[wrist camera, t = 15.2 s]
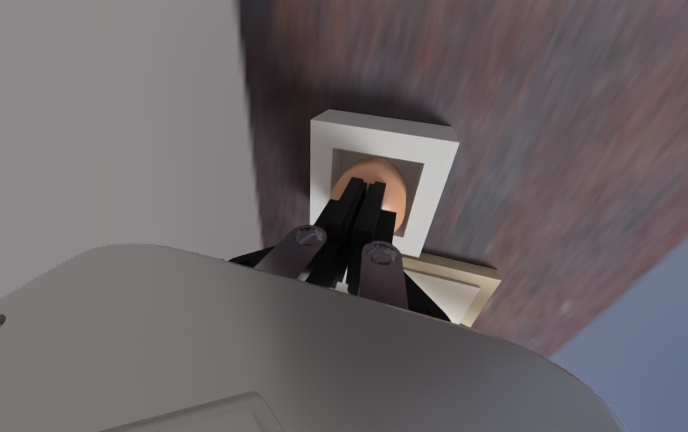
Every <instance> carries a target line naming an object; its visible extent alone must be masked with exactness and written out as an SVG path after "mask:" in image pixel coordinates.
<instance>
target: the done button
mask: <svg viewBox="0 0 688 432" xmlns="http://www.w3.org/2000/svg"><path fill="white" fill-rule="evenodd" d="M351 177H356V178H361V179H363V182H366V183H367V187H366V193H367V190H368V188H369V185H370V183H371V184H374V183H375V181H377V182H382V183H386V188H385V193H384V198H383V203H382V208H381V209H383V210H387V211H392V212H397V215H396V222H395V228H394V232H395V231H396V230H397V229H398V228H399V227H400V225H401V224H402V222H403V219H404V214H405V205H406V195H407V184H406V180H405V178H404V176H403V174H402V172H401V171H400V170H399V169H398V168H397V167H396V166H395V165H394V164H392V163H391V162H389V161H387V160H385V159H382V158H376V157H367V158H362V159H359V160H357V161H355V162H354V163H352V164H351V165H350V166H349V167H348V168H347V169H346V170H345V172H344V173H343V175H342V176H341V178H340V180H339V181H338V183H337V184H336V186H335V187H334V189H333V190H332V192H331V195H330V198H329V200H330V199H334V200H339V199H340V197H341V195H342V193H343V192H344V190H345V188H346V186H347V185H348V183H349V181H350V179H351ZM365 195H366V194H365Z"/></svg>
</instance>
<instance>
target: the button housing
mask: <svg viewBox="0 0 688 432" xmlns="http://www.w3.org/2000/svg"><path fill="white" fill-rule="evenodd" d="M459 143H460V142H459V140H458V138H457V136H456V134H455V132H454V129H453V127H450V126H443V125H436V124H429V123H422V122H415V121H408V120H401V119H394V118H387V117H380V116H373V115H366V114H359V113H353V112H346V111H339V110H332V109H329V110H327V111H325V112H323V113H322V114H320V115H318V116H316V117H314V118H313V119H311V142H310V225H314V223H315V222H316V220H317V219H318V217H319V216H320V214H321V212H322V211H323V209H324V208H325V206H326V204H327V203H328V201H329V198H330V195H331V192H332V190H333V189H334V187H335V186H336V184H337V183H338V181H339V180H340V178H341V176H342V175H343V173H344V172H345V170H346V169H347V168H348V167H349V166H350V165H351V164H352V163H354V162H355V161H357V160H359V159H362V158H367V157H376V158H382V159H385V160H387V161H389V162H391V163H392V164H394V165H395V166H396V167H397V168H398V169H399V170H400V171H401V172H402V174H403V176H404V178H405V180H406V184H407V195H406V205H405V214H404V219H403V222H402V224H401V225H400V227H399V228H398V229H397V230H396V231H395V232H394V235H393V242H392V245H394V246H395V247H396V248H397V249H398V250H399V251H400V252H401V253H402V254H406V255H410V256H415V257H419V256H420V253H421V250H422V247H423V245H424V242H425V239H426V236H427V233H428V230H429V228H430V225H431V222H432V219H433V216H434V213H435V211H436V208H437V205H438V202H439V199H440V197H441V194H442V191H443V188H444V185H445V182H446V180H447V177H448V174H449V171H450V168H451V166H452V163H453V160H454V157H455V154H456V151H457V149H458V146H459Z"/></svg>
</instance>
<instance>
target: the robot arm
mask: <svg viewBox="0 0 688 432" xmlns="http://www.w3.org/2000/svg"><path fill="white" fill-rule="evenodd" d="M366 187H367V183H366V182H363V179H361V178H356V177H351V179H350V181H349V183H348V185H347V186H346V188H345V190H344V192H343V193H342V195H341V197H340V199H339V200H334V199H330V200H329V201H328V203H327V204H326V206H325V208H324V209H323V211H322V212H321V214H320V216H319V217H318V219H317V220H316V222H315V223H314V225H303V226H299V227H297V228H295V229H293V230H292V231H291V232H290V233H289V234H288V235H287V236H286V237H285V238H284V239H283V240H282V241H281V242H280V243H279V244H278V245H277V246H273V247H270V248H266V249H263V250H259V251H256V252H252V253H249V254H246V255H242V256H239V257H236V258H233V259H231V260H229V261H225V260H224V259H218V258H214V257H210V256H206V255H202V254H198V253H193V252H189V251H185V250H180V249H176V248H171V247H166V246H160V245H153V244H137V243H134V244H133V243H132V244H115V245H107V246H101V247H97V248H93V249H90V250H88V251H85V252H83V253H81V254H79V255H77V256H75V257H73V258H71V259H69V260H67V261H65V262H63V263H61V264H59V265H57V266H55V267H53V268H52V269H50V270H48V271H46V272H44V273H42V274H41V275H39V276H37V277H35V278H33V279H32V280H30V281H28V282H26V283H25V284H23V285H21V286H20V287H18V288H16V289H14V290H13V291H11V292H9V293H8V294H6V295H4V296H2V297H1V298H0V432H629V431H628V429H627V428H626V427H625V425H624V424H623V422H622V421H621V420H620V419H619V417H618V416H617V415H616V413H615V412H614V411H613V410H612V409H611V407H610V406H609V405H608V404H607V403H606V402H605V401H604V399H603V398H601V397H600V396H599V395H598V394H597V393H596V392H595V391H594V390H593V389H592V388H591V387H589V386H588V385H587V384H585V383H584V382H583V381H581V380H580V379H579V378H577V377H576V376H574V375H573V374H571V373H570V372H568V371H567V370H565V369H564V368H562V367H560V366H558V365H557V364H555V363H553V362H552V361H550V360H548V359H546V358H545V357H543V356H541V355H539V354H537V353H535V352H533V351H531V350H528V349H526V348H524V347H522V346H520V345H518V344H515V343H512V342H510V341H507V340H505V339H502V338H500V337H497V336H494V335H491V334H488V333H484V332H481V331H478V330H475V329H472V328H470V327H468V326H465V325H463V324H461V323H460V324H456V323H452V322H451V320H450V319H449V317H448V316H447V315H446V313H445V312H444V311H443V310H442V309H441V308H440V307H439V306H438V305H437V304H436V303H435V302H434V301H433V300H432V299H431V298H430V297H429V296H428V295H427V294H426V293H425V292H424V291H423V290H422V289H421V288H420V287H419V286H418V285H417V284H416V283H415V282H414V281H413V280H412V279H411V278H410V277H409V276H408V275H407V274H406V273H405V272H404V269H403V261H402V255H401V252H400V251H399V250H398V249H397V248H396V247H395V246H394V245H392V242H393V235H394V228H395V222H396V215H397V212H392V211H387V210H383V209H381V208H382V203H383V198H384V193H385V188H386V183H382V182H377V181H375V183H374V184H371V183H370V185H369V188H368V190H367V193H366ZM365 194H366V195H365ZM346 270H347V275H346V283H345V284H348V288H347V291H348V293H349V294H348V293H344V292H341V291H337V290H333V289H335V288H336V285H337V283H338V282H340V283H342V281H343V279H344V276H345V273H346ZM330 288H333V289H330Z"/></svg>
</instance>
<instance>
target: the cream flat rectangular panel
mask: <svg viewBox="0 0 688 432" xmlns="http://www.w3.org/2000/svg"><path fill="white" fill-rule="evenodd" d="M401 255H402V261H403V269H404V272H405V273H406V274H407V275H408V276H409V277H410V278H411V279H412V280H413V281H414V282H415V283H416V284H417V285H418V286H419V287H420V288H421V289H422V290H423V291H424V292H425V293H426V294H427V295H428V296H429V297H430V298H431V299H432V300H433V301H434V302H435V303H436V304H437V305H438V306H439V307H440V308H441V309H442V310H443V311H444V312H445V313H446V315H447V316H448V317H449V319H450V320H451V322H452V323H456V324H460V323H461V324H463V325H465V326H468V327H471V325H472V324H473V322H474V321H475V319H476V318H477V316H478V315H479V313H480V312H481V310H482V309H483V307H484V306H485V304H486V303H487V301H488V300H489V298H490V297H491V295H492V294H493V292H494V291H495V289H496V288H497V286H498V285H499V283H500V282H501V278H500V275H499V273H498V270H495V269H491V268H487V267H483V266H478V265H474V264H470V263H465V262H461V261H457V260H452V259H448V258H444V257H439V256H435V255H431V254H426V253H422V252H421V253H420V256H419V257H415V256H410V255H406V254H402V253H401ZM346 275H347V270H346V273H345V276H344V279H343V281H342V283H340V282H338V283H337V285H336V288H335V289H333V288H330V289H333V290H337V291H341V292H344V293H348V291H347V288H348V284H345V283H346ZM348 294H349V293H348Z"/></svg>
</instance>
